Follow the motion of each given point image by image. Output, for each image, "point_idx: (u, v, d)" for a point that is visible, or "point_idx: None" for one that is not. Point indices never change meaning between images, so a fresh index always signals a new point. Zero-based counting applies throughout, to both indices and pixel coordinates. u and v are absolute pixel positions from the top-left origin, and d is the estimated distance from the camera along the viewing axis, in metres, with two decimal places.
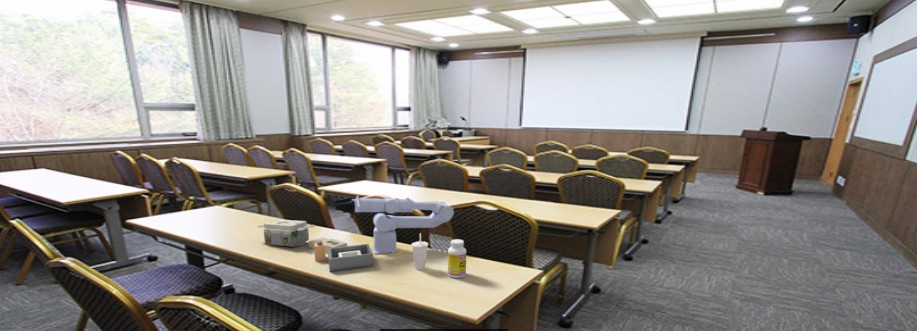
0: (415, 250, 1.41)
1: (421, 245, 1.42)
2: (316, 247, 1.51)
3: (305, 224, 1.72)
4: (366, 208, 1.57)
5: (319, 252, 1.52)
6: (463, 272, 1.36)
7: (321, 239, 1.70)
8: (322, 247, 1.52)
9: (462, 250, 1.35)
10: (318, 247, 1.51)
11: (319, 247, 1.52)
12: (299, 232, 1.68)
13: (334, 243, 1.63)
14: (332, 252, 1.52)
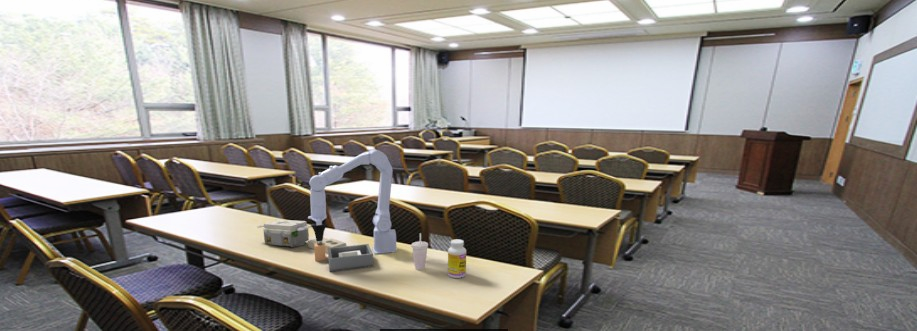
0: (415, 250, 1.41)
1: (421, 245, 1.42)
2: (316, 247, 1.51)
3: (305, 224, 1.72)
4: (320, 209, 1.49)
5: (319, 252, 1.52)
6: (463, 272, 1.36)
7: None
8: (322, 247, 1.52)
9: (462, 250, 1.35)
10: (318, 247, 1.51)
11: (319, 247, 1.52)
12: (299, 232, 1.68)
13: (333, 243, 1.64)
14: (332, 252, 1.52)
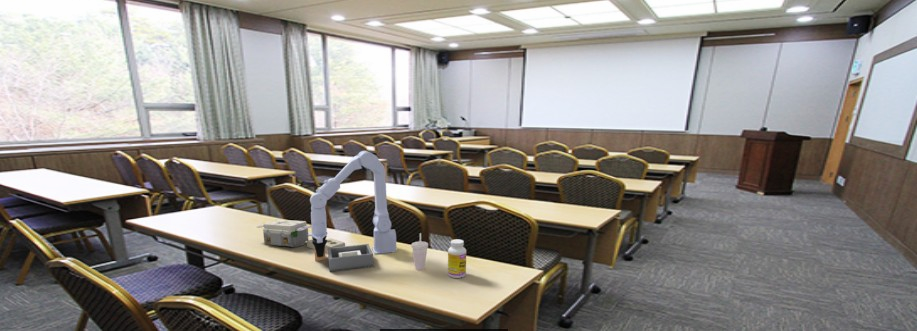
0: (415, 250, 1.41)
1: (421, 245, 1.42)
2: None
3: (305, 224, 1.72)
4: (321, 226, 1.50)
5: None
6: (463, 272, 1.36)
7: None
8: None
9: (462, 250, 1.35)
10: None
11: None
12: (298, 232, 1.68)
13: (332, 243, 1.64)
14: (332, 252, 1.52)
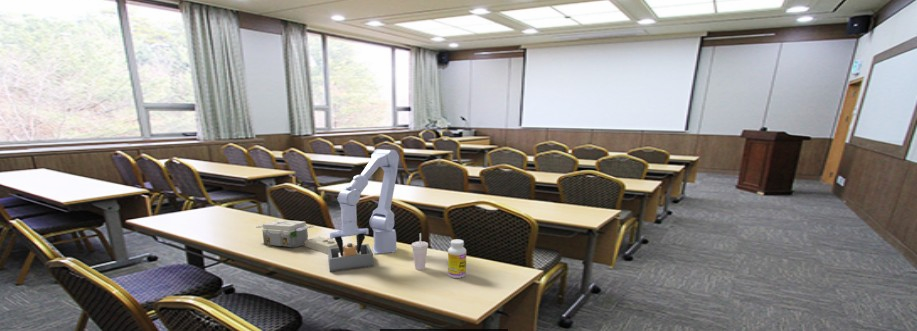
0: (415, 250, 1.41)
1: (421, 245, 1.42)
2: (344, 247, 1.49)
3: (304, 224, 1.71)
4: (342, 224, 1.45)
5: (344, 253, 1.49)
6: (463, 272, 1.36)
7: (317, 238, 1.71)
8: (345, 249, 1.47)
9: (462, 250, 1.35)
10: (344, 247, 1.49)
11: (344, 248, 1.48)
12: (298, 232, 1.68)
13: (330, 242, 1.64)
14: (332, 252, 1.52)
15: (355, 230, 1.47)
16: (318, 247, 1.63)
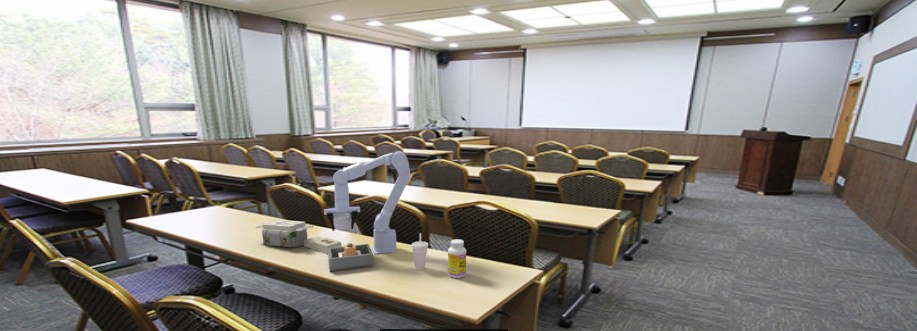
0: (415, 250, 1.41)
1: (421, 245, 1.42)
2: (344, 247, 1.49)
3: (304, 224, 1.71)
4: (335, 201, 1.58)
5: (344, 253, 1.49)
6: (463, 272, 1.36)
7: (316, 238, 1.72)
8: (345, 249, 1.47)
9: (462, 250, 1.35)
10: (344, 247, 1.49)
11: (344, 248, 1.48)
12: (297, 233, 1.68)
13: (328, 242, 1.65)
14: (332, 252, 1.52)
15: (347, 207, 1.59)
16: (316, 247, 1.64)
